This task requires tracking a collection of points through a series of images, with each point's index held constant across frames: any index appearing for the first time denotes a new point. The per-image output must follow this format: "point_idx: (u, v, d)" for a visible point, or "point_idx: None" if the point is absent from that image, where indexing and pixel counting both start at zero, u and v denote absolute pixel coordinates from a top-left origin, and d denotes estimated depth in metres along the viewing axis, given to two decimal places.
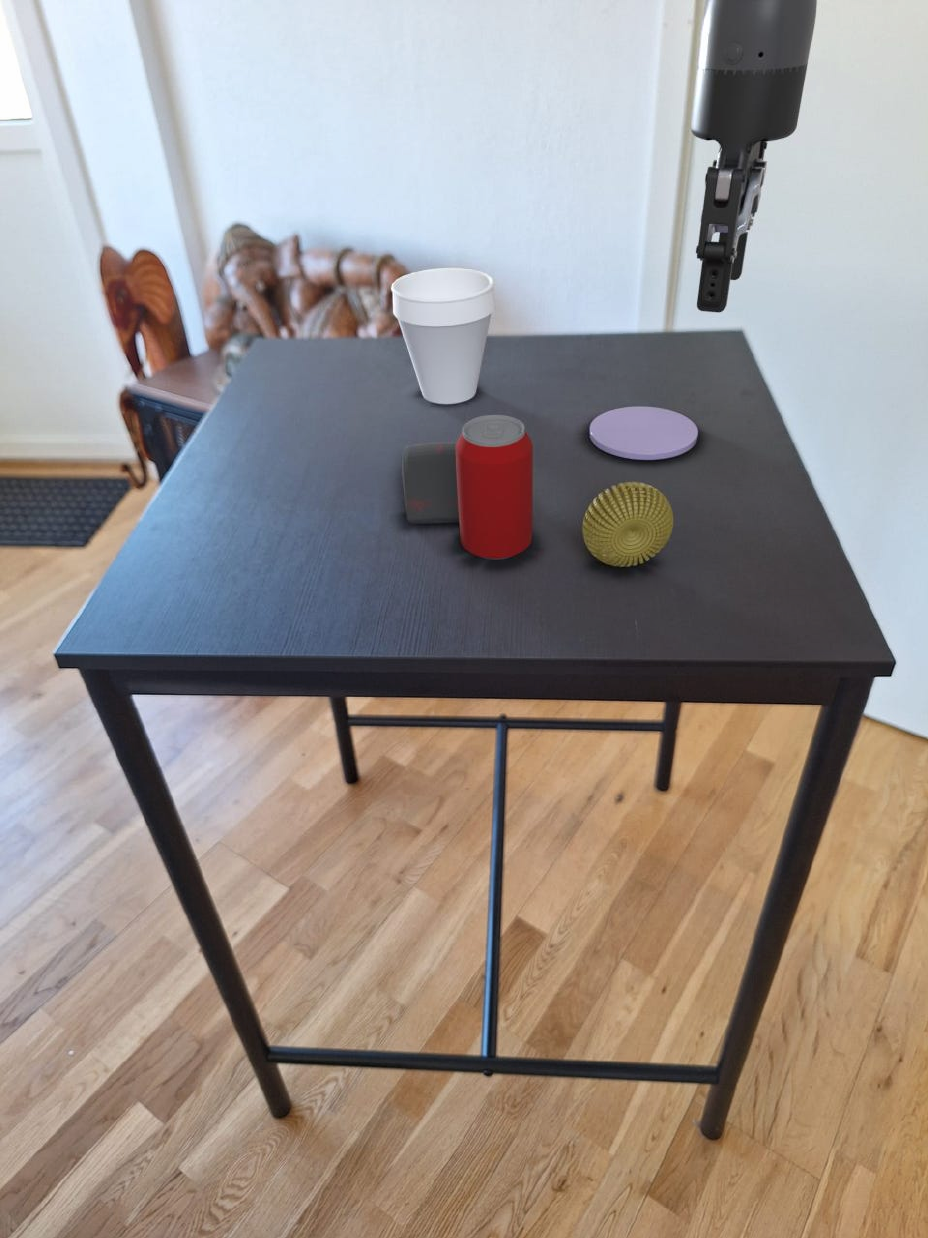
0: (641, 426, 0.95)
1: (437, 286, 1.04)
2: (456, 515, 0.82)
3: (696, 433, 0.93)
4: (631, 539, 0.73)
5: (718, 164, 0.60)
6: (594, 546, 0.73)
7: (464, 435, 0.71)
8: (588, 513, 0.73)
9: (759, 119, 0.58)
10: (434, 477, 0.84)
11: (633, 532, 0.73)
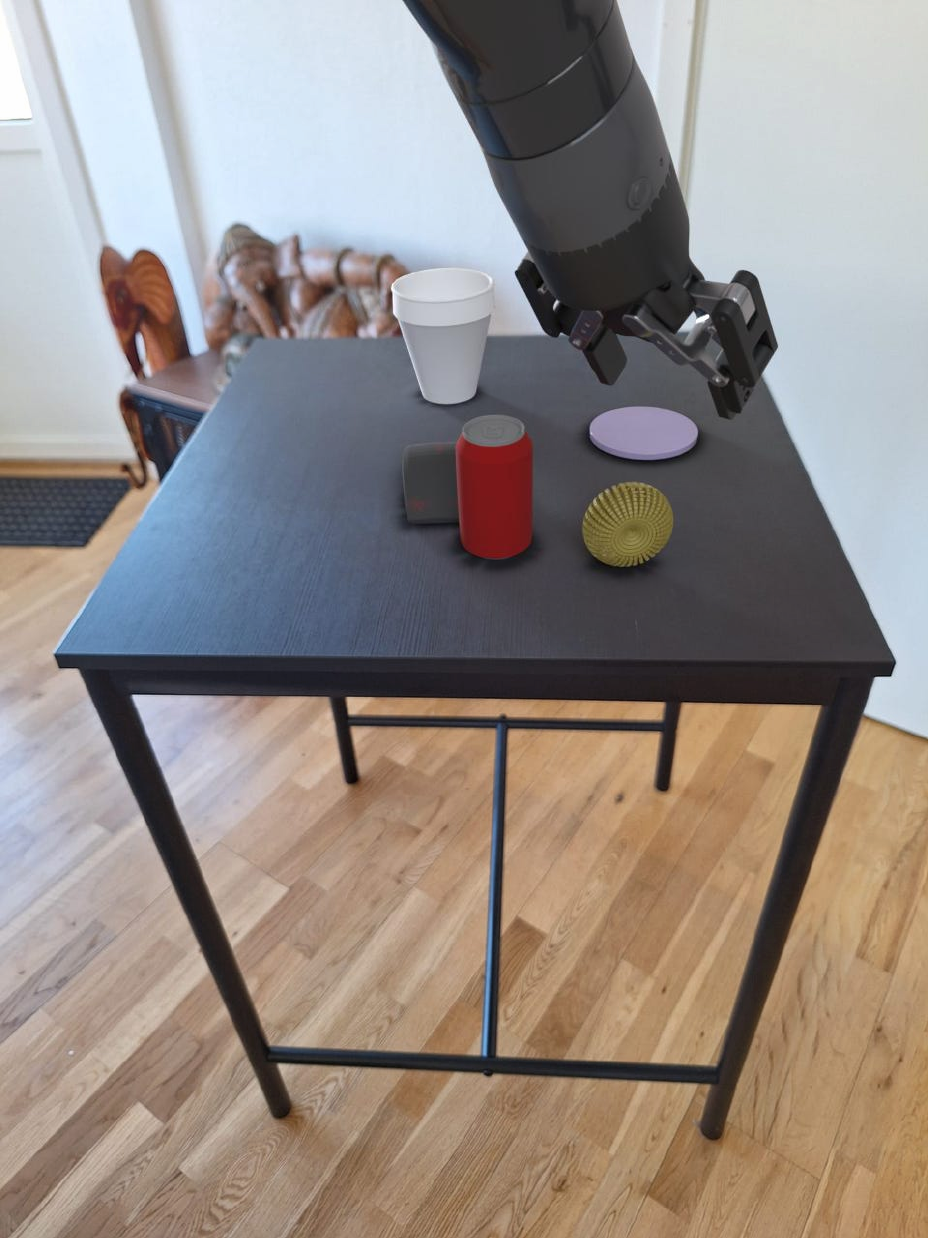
0: (641, 426, 0.95)
1: (437, 286, 1.04)
2: (456, 515, 0.82)
3: (696, 433, 0.93)
4: (631, 539, 0.73)
5: (679, 300, 0.41)
6: (594, 546, 0.73)
7: (464, 435, 0.71)
8: (588, 513, 0.73)
9: (683, 218, 0.39)
10: (434, 477, 0.84)
11: (633, 532, 0.73)
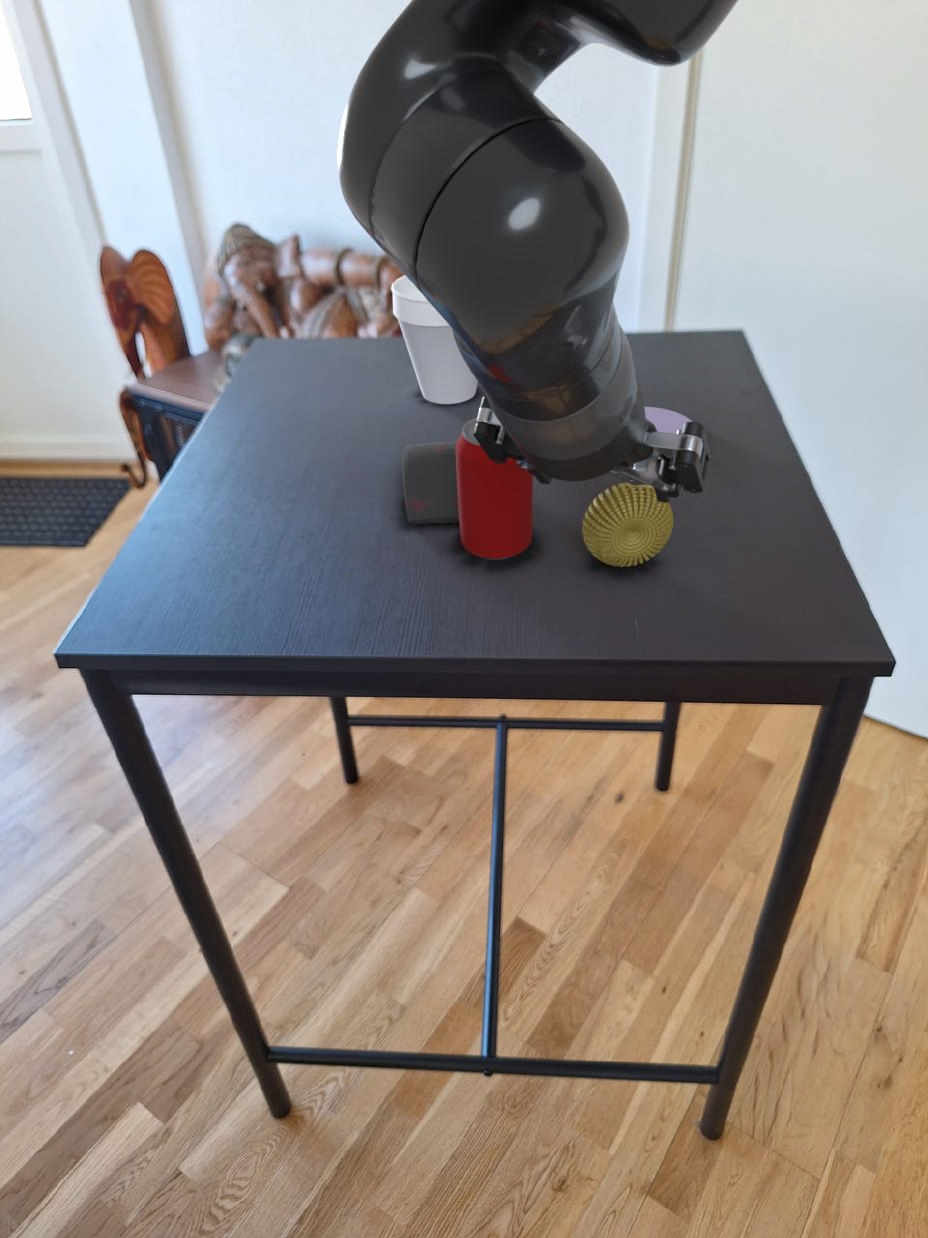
0: None
1: None
2: (456, 515, 0.82)
3: None
4: (631, 539, 0.73)
5: (643, 452, 0.49)
6: (594, 546, 0.73)
7: (464, 435, 0.71)
8: (588, 513, 0.73)
9: None
10: (434, 477, 0.84)
11: (633, 532, 0.73)
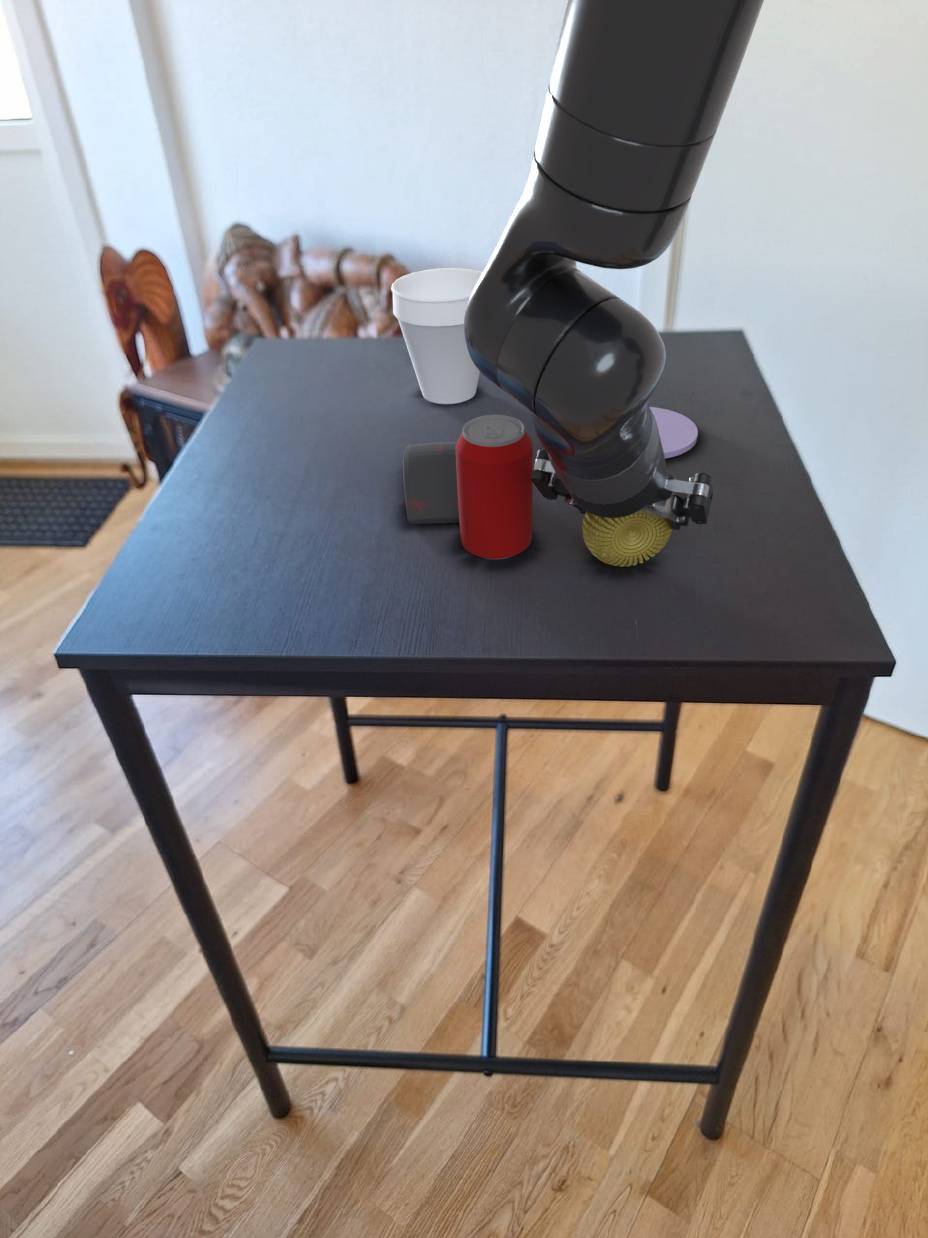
0: None
1: (437, 286, 1.04)
2: (456, 515, 0.82)
3: (696, 433, 0.93)
4: (631, 539, 0.73)
5: (664, 495, 0.63)
6: (594, 546, 0.73)
7: (464, 435, 0.71)
8: (588, 513, 0.73)
9: None
10: (434, 477, 0.84)
11: (633, 532, 0.73)
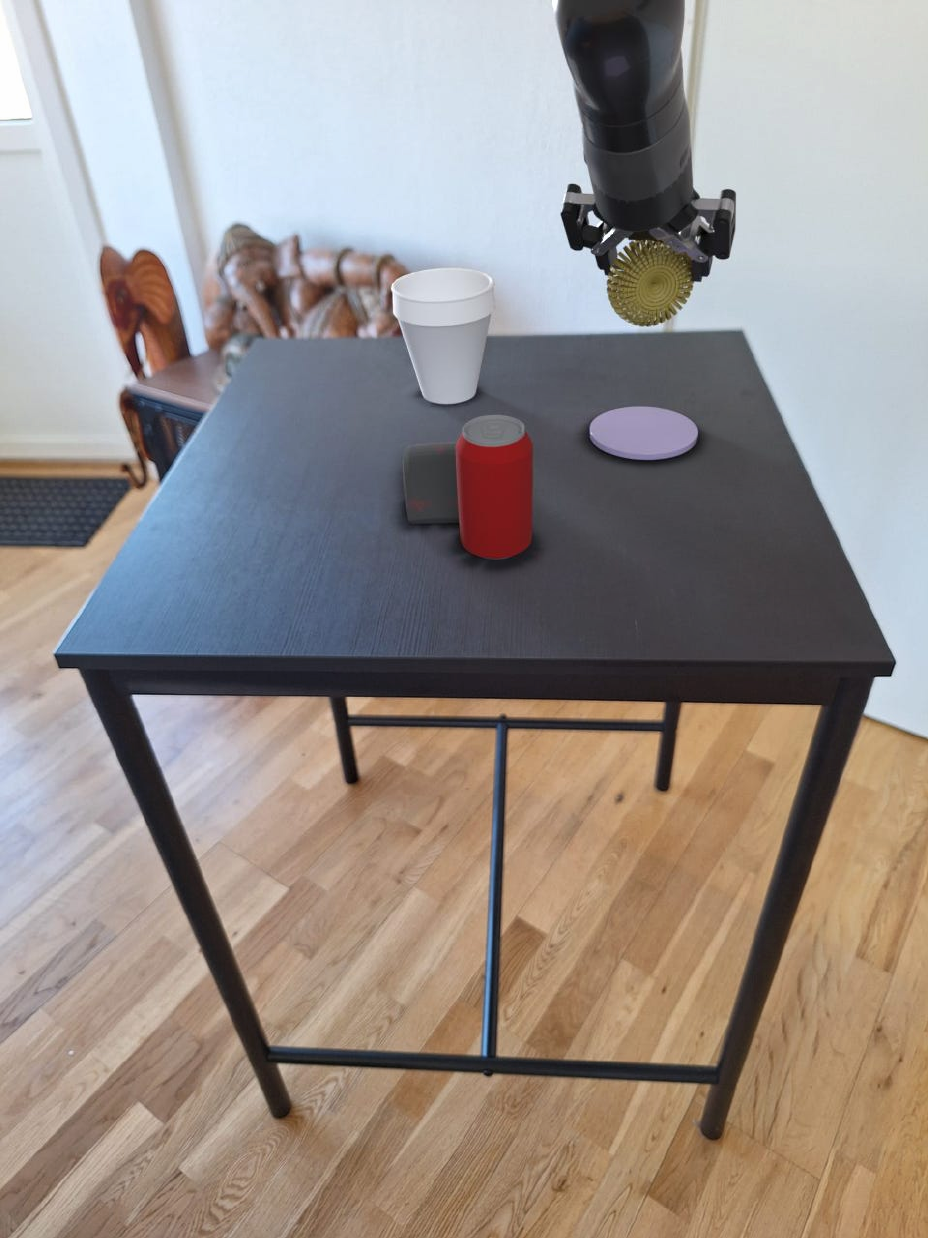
0: (641, 426, 0.95)
1: (437, 286, 1.04)
2: (456, 515, 0.82)
3: (696, 433, 0.93)
4: (654, 292, 0.76)
5: (691, 213, 0.66)
6: (619, 300, 0.76)
7: (464, 435, 0.71)
8: (613, 266, 0.75)
9: None
10: (435, 477, 0.84)
11: (656, 285, 0.76)
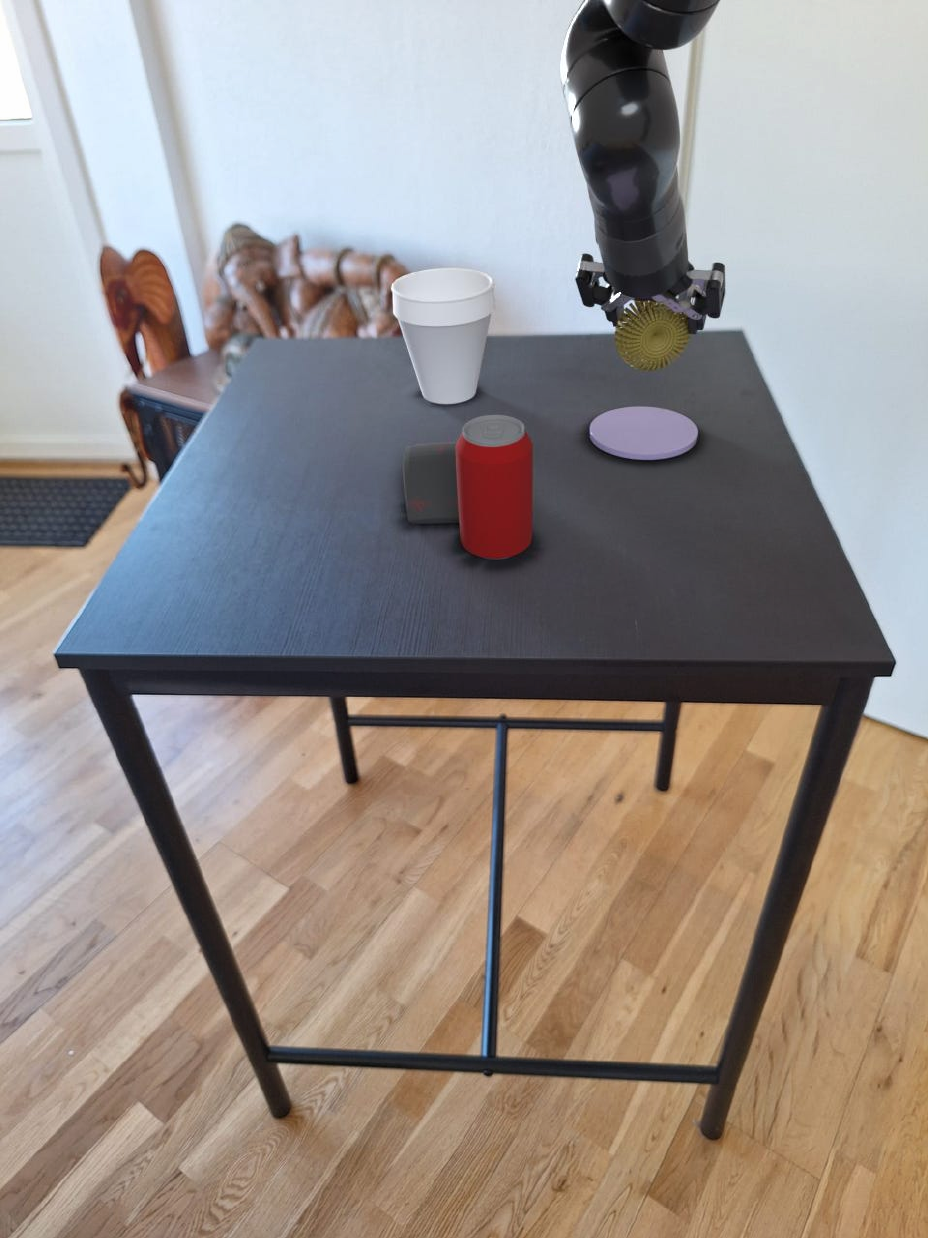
0: (641, 426, 0.95)
1: (437, 286, 1.04)
2: (456, 515, 0.82)
3: (696, 433, 0.93)
4: (656, 343, 0.87)
5: (686, 282, 0.77)
6: (625, 349, 0.88)
7: (464, 435, 0.71)
8: (620, 320, 0.87)
9: None
10: (435, 477, 0.84)
11: (657, 337, 0.87)
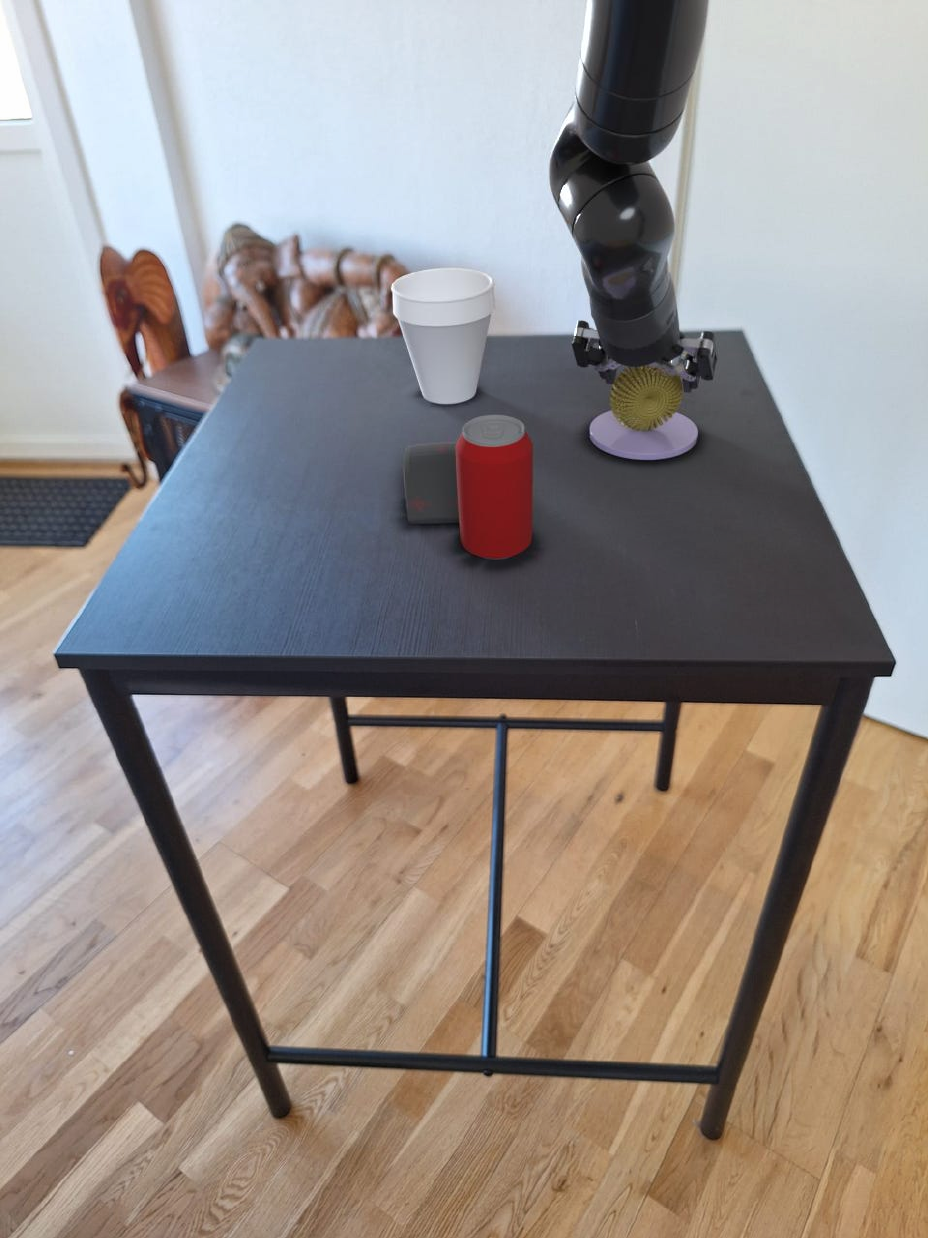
0: None
1: (437, 286, 1.04)
2: (457, 515, 0.82)
3: (696, 433, 0.93)
4: (649, 405, 0.91)
5: (678, 350, 0.81)
6: (619, 411, 0.92)
7: (464, 435, 0.71)
8: (615, 384, 0.91)
9: None
10: (435, 477, 0.84)
11: (650, 400, 0.91)
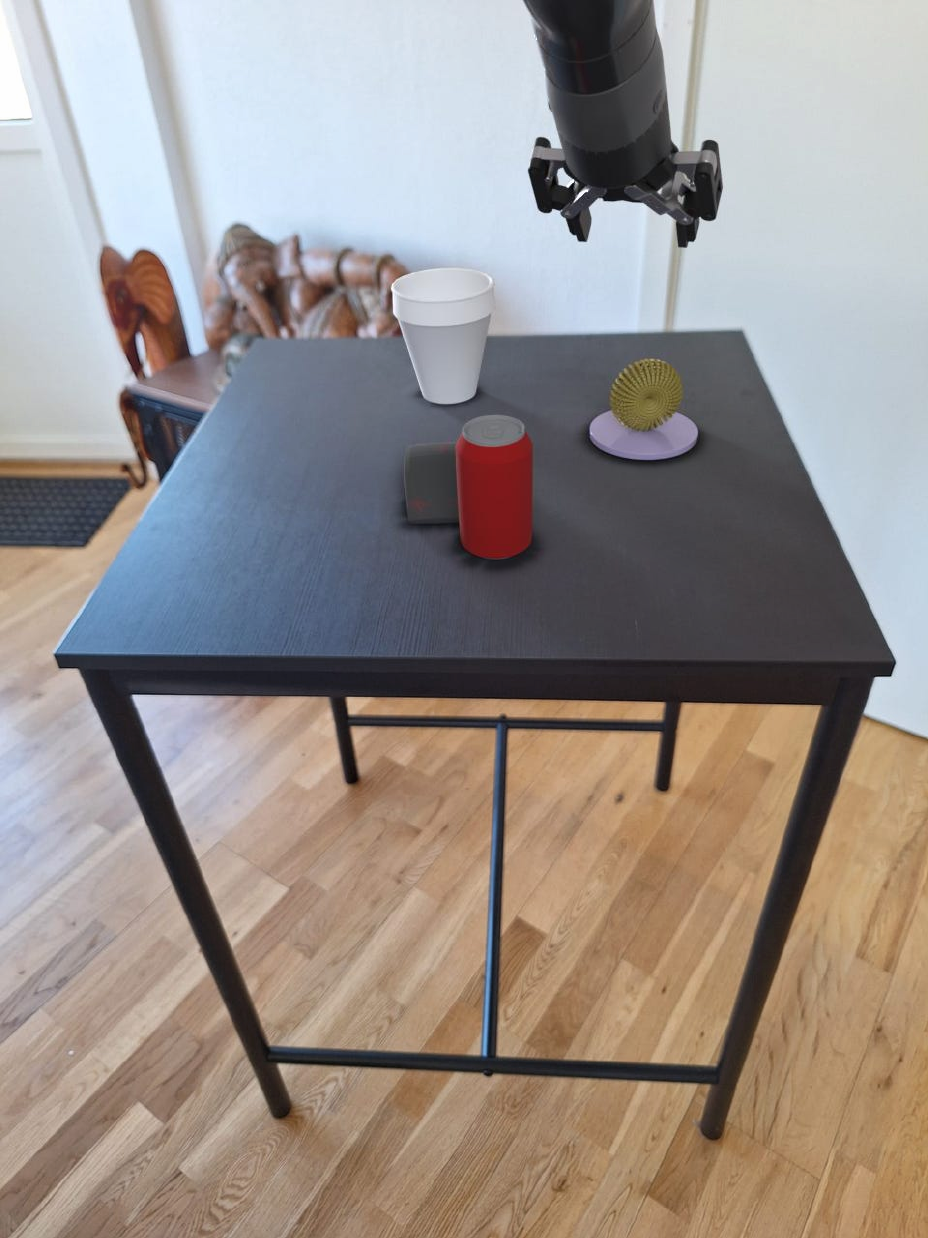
0: None
1: (437, 286, 1.04)
2: (457, 516, 0.82)
3: (696, 433, 0.93)
4: (649, 405, 0.91)
5: (669, 168, 0.60)
6: (619, 411, 0.92)
7: (464, 435, 0.71)
8: (615, 384, 0.91)
9: None
10: (435, 477, 0.84)
11: (650, 400, 0.91)
